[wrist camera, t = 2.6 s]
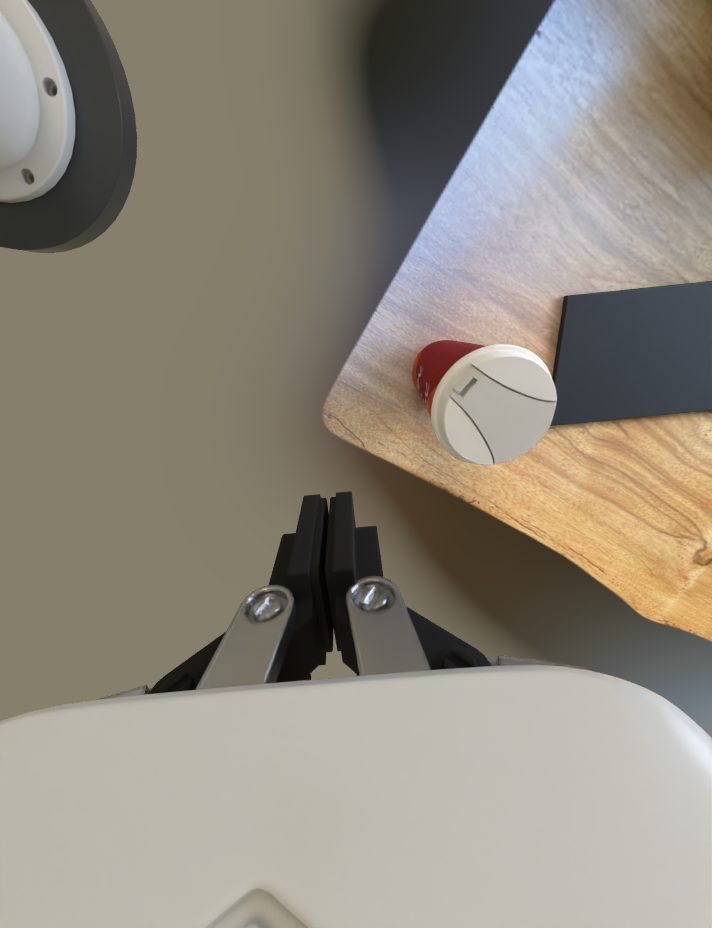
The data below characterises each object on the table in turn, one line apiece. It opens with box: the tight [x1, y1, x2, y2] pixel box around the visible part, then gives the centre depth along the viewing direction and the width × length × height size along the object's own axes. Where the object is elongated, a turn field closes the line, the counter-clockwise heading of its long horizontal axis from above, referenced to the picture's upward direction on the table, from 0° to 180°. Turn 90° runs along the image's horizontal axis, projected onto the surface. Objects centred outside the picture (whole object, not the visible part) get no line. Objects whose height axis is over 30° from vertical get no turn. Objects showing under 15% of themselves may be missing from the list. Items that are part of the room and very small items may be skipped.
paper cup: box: [412, 340, 557, 465], centre depth 27 cm, size 8×8×14 cm
